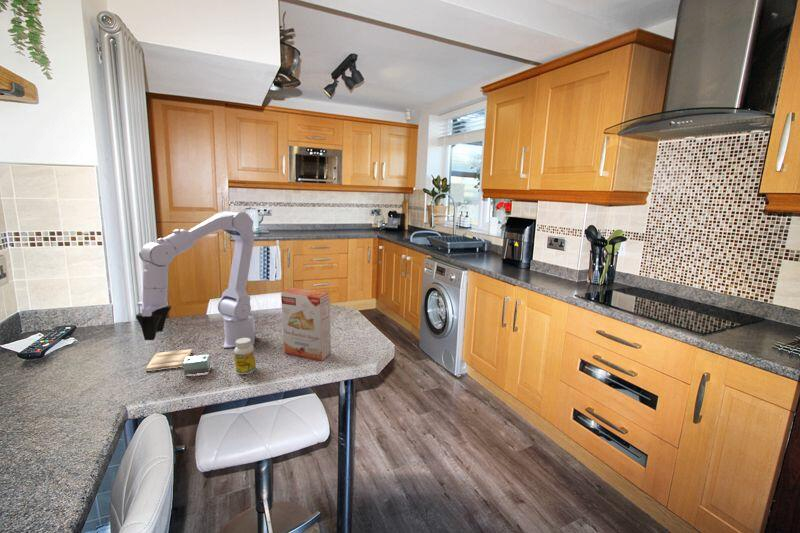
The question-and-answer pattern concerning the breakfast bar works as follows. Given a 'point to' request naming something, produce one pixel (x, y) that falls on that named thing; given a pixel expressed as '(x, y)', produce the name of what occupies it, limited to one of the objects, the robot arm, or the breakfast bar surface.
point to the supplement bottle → (244, 356)
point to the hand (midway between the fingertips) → (153, 335)
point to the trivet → (168, 359)
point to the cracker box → (306, 323)
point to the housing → (196, 364)
